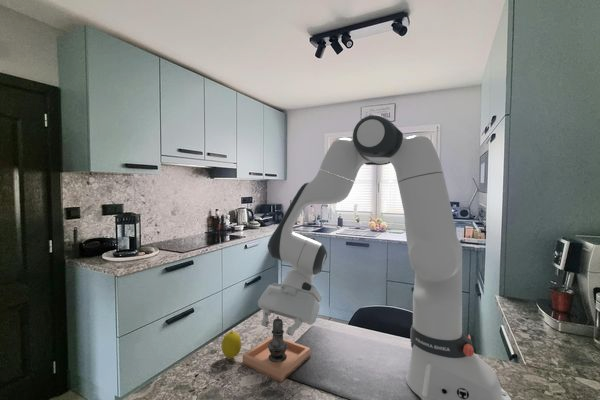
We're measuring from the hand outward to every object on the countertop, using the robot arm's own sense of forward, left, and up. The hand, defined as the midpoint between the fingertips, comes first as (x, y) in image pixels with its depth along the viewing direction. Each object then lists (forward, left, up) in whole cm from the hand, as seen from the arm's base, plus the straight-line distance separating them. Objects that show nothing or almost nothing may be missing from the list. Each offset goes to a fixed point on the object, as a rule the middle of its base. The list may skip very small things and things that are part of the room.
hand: (276, 330), depth 79 cm
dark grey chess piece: (0, -1, -8) cm, 8 cm away
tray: (0, -1, -9) cm, 9 cm away
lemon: (+12, +6, -9) cm, 16 cm away
